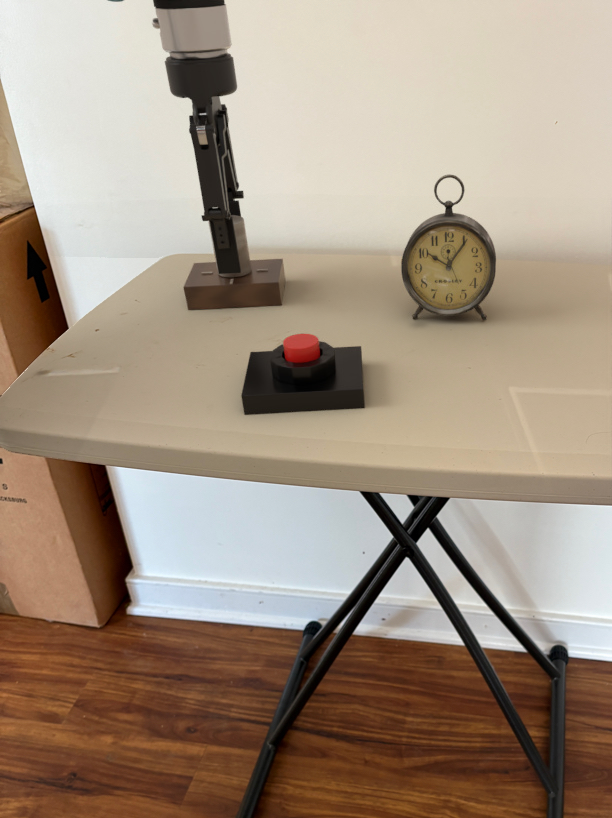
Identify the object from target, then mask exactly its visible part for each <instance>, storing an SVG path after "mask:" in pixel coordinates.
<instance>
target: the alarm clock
mask: <svg viewBox="0 0 612 818" xmlns="http://www.w3.org/2000/svg"><path fill="white" fill-rule="evenodd" d="M445 179H453V180H455V181H457V182H458V184H459V185H460V187H461V194H460V196H459V198H458V199H457V200H456V201H455V202H453V201H451V200H446V201H445V202H444V201H442V200H441V199H440V198H439V195H438V192H437V191H438V186H439V184H440V183H441V182H442V181H443V180H445ZM433 193H434V196H435V198H436V200H437V201H438V203H439V204H441V205H442V206H443V207H444V208H445V210H444V213H439V214H435V215H432V216H431V217H429V218H427V219H425V220H424V221H423V222H421V223H420V224H419V226H417V227H416V228H415V229H414V231H413V232H412V234H411V235H410V237H409V239H408V241H407V243H406V246H405V248H404V250H403V254H402V257H401V266H400V267H401V268H400V269H401V278H402V282H403V285H404V287H405V289H406V292H407V293H408V295H409V296H410V298H411V299H412V300H413V301H414V302H415V303H416V304H417V305H418V306H417V308H416V309H415V312H414V314H412V315H411V318H412V320H417V319H418V316H419V315H420V314H421V313H422V312H423V311H424V310H425V311H427V312H429V313H432V314H434V315H436V316H437V315H438V316H443V317H454V316H459V315H462V314H466V313H468V312H471V311H472V310H475V312H476V313H477V314H478V315H479V316H480V317H481V320H483V321H485V320H487V318H488V317H487V314H485V313H484V312H483V311H484V310H483V309H482V307H481V306H480V304H482V302H483V301H485V299H486V298H487V296H488V295H489V294H490V292H491V290H492V287H493V285H494V281H495V278H496V272H497V271H496V268H497V254H496V249H495V245H494V242H493V240H492V238H491V236H490V234H489V233H488V231H487V229H485V227H484V226H483V225H482V224H481V223H479V222H478V221H477V220H476V219H474V218H472V217H470V216H468V215H465V214H462V213H458V212H453V207H454V206H455V205H458V204H459V203H460V202H461V201H462V199H463V197H464V194H465V185H464V183H463V181H462V179H461V178H459V177H458V176H457V175H456V174H455V175H454V174H445V175H442V176H441V177H439V178H438V179H437V181H436V182H435V184H434V186H433Z"/></svg>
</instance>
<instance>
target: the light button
mask: <svg viewBox="0 0 612 818" xmlns="http://www.w3.org/2000/svg"><path fill="white" fill-rule="evenodd" d="M319 341H320V340H319V337H317V335H314V334H311V333H297V334H292V335H289V336H287V337H285V338H284V340H283V341H282V344H283V347H284V354H285V359H286V361H290V362H295V363H300V362H309V361H313V360H316V359H318V358H319V357H320V347H319Z"/></svg>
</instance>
